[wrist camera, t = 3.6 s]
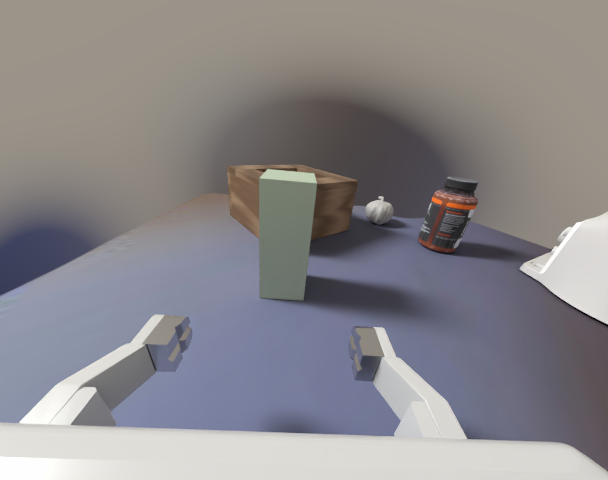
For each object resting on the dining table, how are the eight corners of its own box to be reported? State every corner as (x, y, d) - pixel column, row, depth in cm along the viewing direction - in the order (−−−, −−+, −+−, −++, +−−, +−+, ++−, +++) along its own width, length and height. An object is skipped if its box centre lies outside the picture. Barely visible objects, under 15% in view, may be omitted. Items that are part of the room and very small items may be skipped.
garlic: (365, 215, 49) (370, 192, 46) (390, 220, 47) (397, 197, 45) (361, 223, 44) (366, 198, 41) (389, 229, 42) (396, 204, 40)
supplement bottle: (464, 254, 35) (498, 184, 30) (431, 254, 34) (461, 182, 29) (438, 238, 40) (464, 176, 35) (409, 237, 39) (431, 174, 34)
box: (296, 204, 51) (300, 164, 47) (348, 229, 40) (358, 180, 36) (230, 214, 41) (227, 165, 37) (273, 251, 31) (275, 187, 26)
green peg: (266, 272, 26) (267, 169, 21) (303, 274, 26) (314, 173, 21) (259, 297, 22) (259, 178, 17) (303, 300, 22) (317, 183, 17)
